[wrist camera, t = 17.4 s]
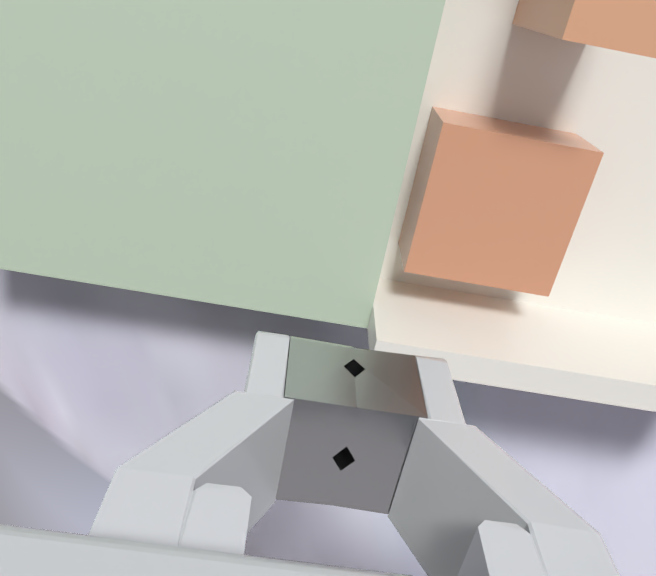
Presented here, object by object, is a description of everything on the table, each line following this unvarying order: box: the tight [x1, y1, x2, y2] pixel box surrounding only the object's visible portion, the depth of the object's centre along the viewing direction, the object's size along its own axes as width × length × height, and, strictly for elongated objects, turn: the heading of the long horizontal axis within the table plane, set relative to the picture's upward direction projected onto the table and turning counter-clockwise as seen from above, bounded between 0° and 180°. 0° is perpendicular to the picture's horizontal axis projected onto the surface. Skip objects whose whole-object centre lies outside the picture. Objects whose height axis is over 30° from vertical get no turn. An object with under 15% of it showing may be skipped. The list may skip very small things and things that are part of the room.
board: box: [0, 0, 445, 328], centre depth 19 cm, size 18×14×3 cm
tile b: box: [398, 106, 604, 297], centre depth 21 cm, size 5×5×2 cm
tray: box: [367, 0, 656, 412], centre depth 19 cm, size 18×14×5 cm
